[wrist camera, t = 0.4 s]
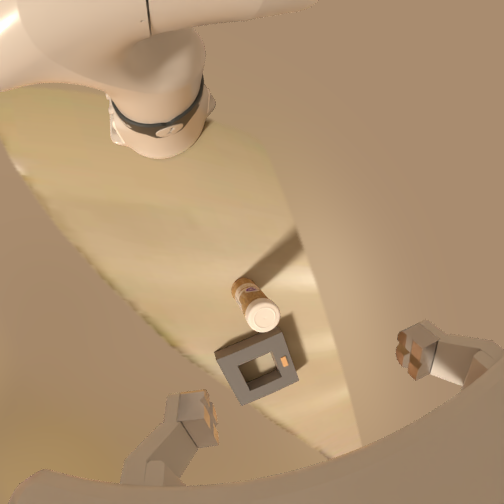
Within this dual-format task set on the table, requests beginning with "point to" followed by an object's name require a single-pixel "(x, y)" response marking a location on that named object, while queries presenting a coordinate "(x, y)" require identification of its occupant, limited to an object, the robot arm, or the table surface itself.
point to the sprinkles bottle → (255, 305)
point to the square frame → (252, 350)
